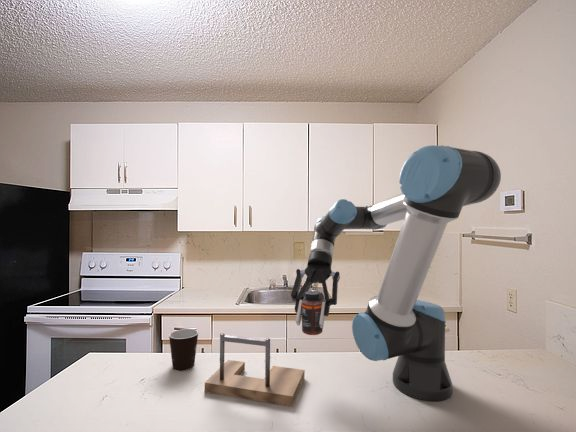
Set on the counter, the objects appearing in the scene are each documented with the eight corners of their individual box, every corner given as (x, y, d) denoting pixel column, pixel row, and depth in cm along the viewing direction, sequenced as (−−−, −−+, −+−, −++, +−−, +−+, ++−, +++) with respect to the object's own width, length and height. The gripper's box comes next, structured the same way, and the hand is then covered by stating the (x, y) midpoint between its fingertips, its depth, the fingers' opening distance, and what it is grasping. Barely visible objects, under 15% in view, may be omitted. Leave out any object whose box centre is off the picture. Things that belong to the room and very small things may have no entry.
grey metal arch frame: (270, 384, 81) (270, 338, 81) (268, 387, 80) (269, 340, 80) (220, 377, 85) (221, 333, 85) (218, 379, 84) (219, 334, 84)
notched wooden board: (304, 378, 89) (304, 369, 89) (292, 406, 76) (292, 396, 76) (228, 367, 96) (228, 359, 96) (204, 392, 82) (204, 382, 82)
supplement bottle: (325, 330, 90) (326, 291, 90) (318, 337, 85) (318, 296, 85) (306, 326, 93) (307, 288, 92) (298, 333, 87) (298, 293, 87)
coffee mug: (189, 374, 92) (189, 339, 92) (162, 371, 93) (163, 337, 94) (207, 357, 103) (207, 326, 103) (183, 354, 105) (183, 324, 105)
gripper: (351, 265, 100) (345, 334, 85) (294, 262, 106) (279, 326, 90) (349, 250, 95) (343, 321, 80) (290, 248, 101) (273, 314, 85)
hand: (309, 324), depth 85 cm, fingers closed on supplement bottle, 6 cm apart
